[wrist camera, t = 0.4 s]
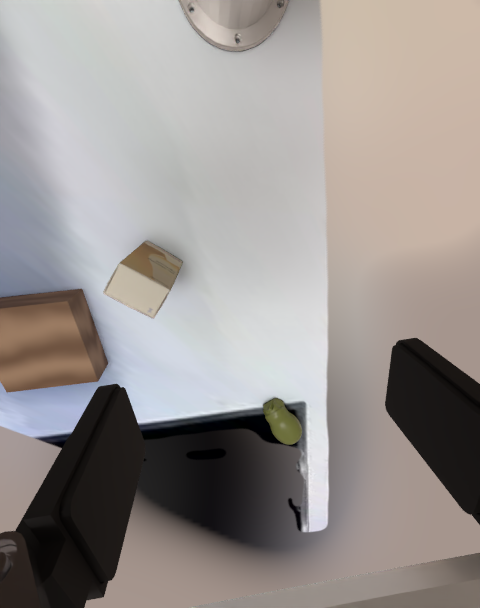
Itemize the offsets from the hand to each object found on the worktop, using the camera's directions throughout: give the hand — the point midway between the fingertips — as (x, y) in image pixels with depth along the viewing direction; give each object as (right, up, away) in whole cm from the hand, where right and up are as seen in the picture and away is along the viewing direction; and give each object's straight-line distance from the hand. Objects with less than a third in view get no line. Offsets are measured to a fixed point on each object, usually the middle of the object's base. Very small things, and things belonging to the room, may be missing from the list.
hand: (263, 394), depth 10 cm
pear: (+7, -19, +47) cm, 51 cm away
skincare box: (-13, +10, +32) cm, 36 cm away
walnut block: (-31, -1, +35) cm, 47 cm away
